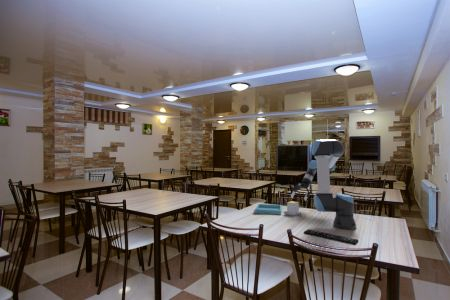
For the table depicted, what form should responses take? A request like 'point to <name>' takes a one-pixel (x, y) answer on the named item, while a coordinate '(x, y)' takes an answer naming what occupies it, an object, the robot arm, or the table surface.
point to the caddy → (292, 208)
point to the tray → (268, 209)
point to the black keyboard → (331, 236)
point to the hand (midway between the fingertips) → (298, 198)
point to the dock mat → (293, 215)
